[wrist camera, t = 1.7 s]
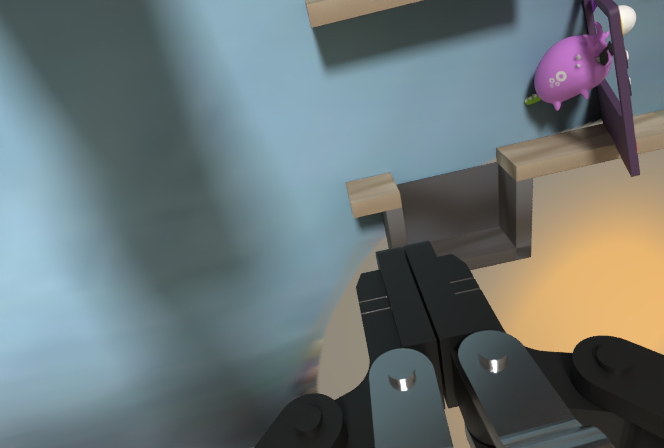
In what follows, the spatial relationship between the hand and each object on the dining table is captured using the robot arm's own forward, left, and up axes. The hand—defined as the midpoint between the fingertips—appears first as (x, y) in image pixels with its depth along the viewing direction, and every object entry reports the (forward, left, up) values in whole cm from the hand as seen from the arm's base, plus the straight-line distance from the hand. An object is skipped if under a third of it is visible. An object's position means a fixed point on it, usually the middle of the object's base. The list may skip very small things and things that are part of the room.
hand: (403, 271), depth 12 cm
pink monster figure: (+1, +13, -17) cm, 21 cm away
